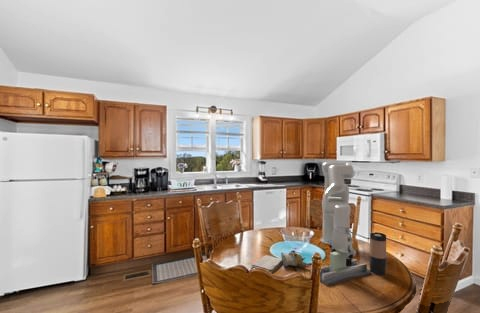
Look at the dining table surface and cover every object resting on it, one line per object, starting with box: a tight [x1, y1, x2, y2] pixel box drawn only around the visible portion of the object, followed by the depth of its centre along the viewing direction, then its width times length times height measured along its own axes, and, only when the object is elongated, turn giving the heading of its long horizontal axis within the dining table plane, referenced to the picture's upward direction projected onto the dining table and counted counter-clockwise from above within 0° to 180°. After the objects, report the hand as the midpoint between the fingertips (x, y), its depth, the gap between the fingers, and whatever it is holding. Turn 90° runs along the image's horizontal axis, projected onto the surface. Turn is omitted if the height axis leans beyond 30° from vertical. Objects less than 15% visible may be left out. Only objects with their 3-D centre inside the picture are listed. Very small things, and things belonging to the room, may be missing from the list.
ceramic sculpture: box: [280, 250, 311, 269], centre depth 136 cm, size 11×9×15 cm
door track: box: [309, 258, 372, 287], centre depth 126 cm, size 30×12×4 cm, turn 115°
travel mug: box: [369, 232, 387, 276], centre depth 129 cm, size 8×8×20 cm
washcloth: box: [251, 254, 283, 274], centre depth 135 cm, size 12×18×3 cm, turn 148°
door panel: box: [329, 250, 351, 272], centre depth 126 cm, size 12×3×10 cm, turn 115°
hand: (341, 261), depth 126 cm, fingers open, 9 cm apart
